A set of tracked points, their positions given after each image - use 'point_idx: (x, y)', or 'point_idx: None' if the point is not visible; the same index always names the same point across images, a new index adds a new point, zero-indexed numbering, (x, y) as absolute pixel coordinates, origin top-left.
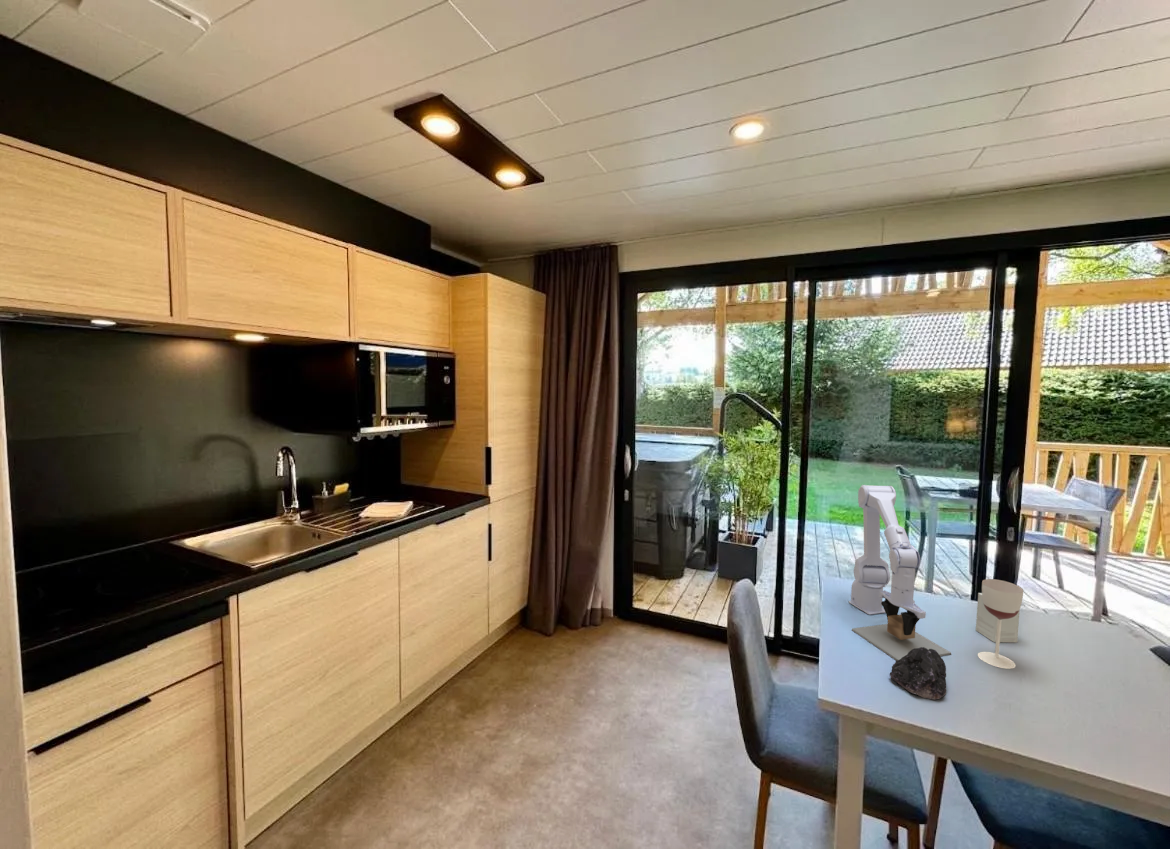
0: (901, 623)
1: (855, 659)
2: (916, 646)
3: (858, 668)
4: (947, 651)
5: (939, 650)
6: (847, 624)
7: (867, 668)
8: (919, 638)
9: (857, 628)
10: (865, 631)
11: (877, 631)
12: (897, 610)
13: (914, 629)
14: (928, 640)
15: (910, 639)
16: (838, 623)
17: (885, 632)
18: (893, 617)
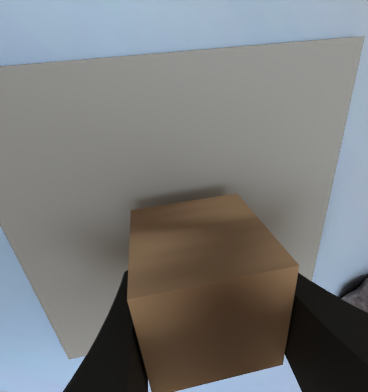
0: (277, 365)
1: (246, 384)
2: (253, 191)
3: (280, 387)
4: (347, 50)
5: (322, 95)
6: (10, 348)
7: (288, 373)
8: (187, 108)
9: (66, 342)
10: (94, 325)
11: (94, 283)
12: (133, 387)
13: (262, 229)
14: (218, 63)
15: (188, 173)
16: (6, 372)
17: (105, 254)
18: (184, 377)
